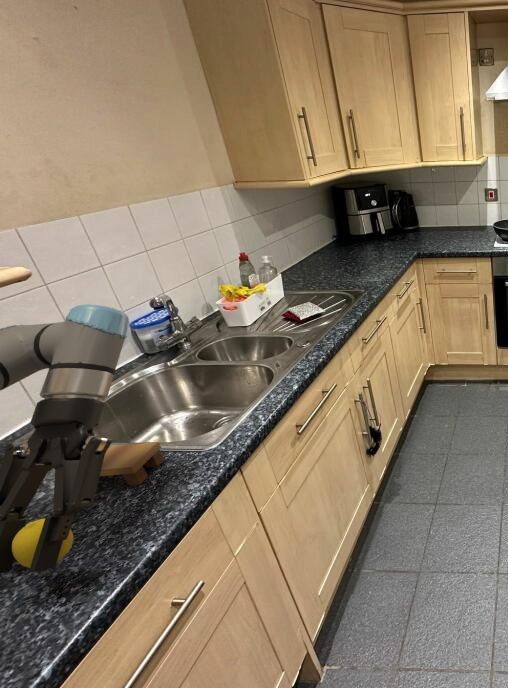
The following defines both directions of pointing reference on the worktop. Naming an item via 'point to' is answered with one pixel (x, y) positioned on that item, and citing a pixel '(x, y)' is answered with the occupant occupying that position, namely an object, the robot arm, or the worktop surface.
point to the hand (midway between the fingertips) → (19, 571)
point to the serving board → (131, 461)
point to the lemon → (34, 543)
